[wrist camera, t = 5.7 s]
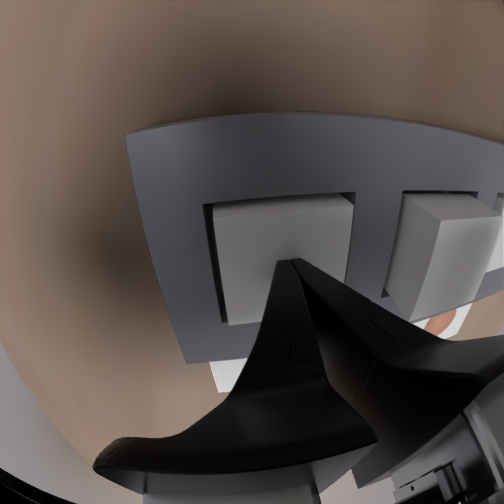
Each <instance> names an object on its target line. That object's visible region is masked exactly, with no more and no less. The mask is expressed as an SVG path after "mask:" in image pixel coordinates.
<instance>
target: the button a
mask: <svg viewBox="0 0 504 504" xmlns="http://www.w3.org/2000/svg"><path fill="white" fill-rule="evenodd" d="M353 208H354V205H353V204H351V203H350V202H349V201H348V200H347V199H345V198H344V197H343V196H342V195H341V194H339V193H338V192H336V193H318V194H303V195H289V196H276V197H265V198H254V199H243V200H233V201H224V202H215V203H213V223H214V230H215V238H216V245H217V252H218V259H219V266H220V273H221V279H222V286H223V292H224V299H225V305H226V311H227V317H228V323H229V325H238V324H247V323H255V322H261V321H262V317H263V313H264V309H265V306H266V302H267V298H268V294H269V290H270V286H271V282H272V278H273V274H274V270H275V266H276V262H277V261H278V260H286V259H288V260H290V259H295V258H302V259H304V260H306V261H307V262H309V263H311V264H312V265H314V266H316V267H317V268H319V269H321V270H322V271H324V272H326V273H327V274H329V275H331V276H332V277H334V278H336V279H337V280H339V281H341V282H342V283H344V278H345V272H346V265H347V258H348V251H349V244H350V236H351V227H352V218H353Z"/></svg>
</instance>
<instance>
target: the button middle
mask: <svg viewBox="0 0 504 504" xmlns="http://www.w3.org/2000/svg"><path fill="white" fill-rule="evenodd" d="M503 217H504V216H503V215H501V214H500V213H498V212H497V211H495V210H494V209H492V208H491V207H489V206H487V205H486V204H484V203H483V202H481V201H479V200H478V199H476V198H474V197H472V196H471V195H469V194H402V199H401V205H400V212H399V218H398V224H397V229H396V234H395V239H394V244H393V249H392V254H391V258H390V263H389V267H388V271H387V275H386V279H385V283H384V288H385V290H386V291H387V292H388V294H389V295H390V296H391V298H392V299H393V300H394V302H395V303H396V304H397V306H398V307H399V309H400V310H401V311H402V313H403V314H404V316H405V317H406V318H407V320H408V321H409V322H410V321H414V320H417V319H420V318H423V317H426V316H430V315H433V314H436V313H439V312H442V311H445V310H447V309H450V308H453V307H456V306H459V305H461V304H464V303H467V302H469V301H472V300H474V298H475V296H476V293H477V291H478V289H479V286H480V284H481V282H482V279H483V277H484V274H485V272H486V269H487V267H488V264H489V261H490V259H491V256H492V253H493V250H494V247H495V244H496V241H497V238H498V234H499V231H500V228H501V224H502V220H503Z"/></svg>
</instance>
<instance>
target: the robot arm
mask: <svg viewBox="0 0 504 504" xmlns="http://www.w3.org/2000/svg"><path fill="white" fill-rule="evenodd" d="M371 302H372V301H371V300H370V299H368V298H367V297H365V296H363V295H362V294H360V293H359V292H357V291H355V290H354V289H352V288H350V287H349V286H347V285H345V284H344V283H342V282H341V281H339V280H337V279H336V278H334V277H332V276H331V275H329V274H327V273H326V272H324V271H322V270H321V269H319V268H317V267H316V266H314V265H312V264H311V263H309V262H307V261H306V260H304V259H302V258H295V259H290V260H288V259H286V260H278V261H277V262H276V266H275V270H274V274H273V278H272V282H271V286H270V290H269V294H268V298H267V302H266V306H265V309H264V313H263V317H262V321H261V324H260V328H259V331H258V334H257V337H256V341H255V343H254V345H253V348H252V350H251V352H250V355H249V357H248V359H247V361H246V363H245V365H244V367H243V369H242V371H241V373H240V375H239V377H238V379H237V381H236V383H235V385H234V386H233V388H232V390H231V392H230V393H229V395H228V396H227V397H226V399H225V400H224V401H223V402H222V403H221V404H219V405H218V406H217V407H216V408H214V409H213V410H212V411H210V412H209V413H208V414H206V415H205V416H204V417H202V418H201V419H200V420H198V421H197V422H196V423H194V424H193V425H192V426H190V427H189V428H188V429H186V430H184V431H183V432H181V433H179V434H176V435H173V436H169V437H164V438H142V437H122V438H119V439H116V440H114V441H113V442H112V443H111V444H109V445H108V446H107V447H106V448H105V449H104V450H103V451H102V452H101V453H100V454H99V455H98V457H97V458H96V460H95V462H94V464H93V466H92V468H93V470H94V471H95V472H96V473H97V474H99V475H100V476H103V477H104V478H106V479H108V480H110V481H112V482H114V483H117V484H118V485H121V486H123V487H125V488H127V489H130V490H132V491H134V492H137V493H139V494H141V495H143V504H321V500H320V496H319V494H320V493H321V492H323V491H324V490H325V489H326V488H328V487H329V486H330V485H331V484H333V483H334V482H335V481H337V480H338V479H339V478H340V477H341V476H343V475H344V474H345V473H346V472H347V471H349V470H350V469H352V473H353V475H354V478H355V481H356V484H357V487H358V488H362V487H365V486H367V485H370V484H373V483H375V482H378V481H381V480H383V479H385V478H388V477H390V476H391V478H392V481H393V484H394V487H395V491H394V492H393V494H394V497H395V500H396V503H395V504H458V503H459V502H461V504H504V335H499V336H492V337H486V338H479V339H471V340H463V341H450V340H446V339H442V338H440V337H438V336H436V335H434V334H432V333H430V332H428V331H426V330H424V329H422V328H420V327H418V326H416V325H414V324H412V323H410V322H408V321H406V320H404V319H402V318H401V317H399V316H397V315H395V314H393V313H391V312H390V311H388V310H386V309H385V308H383V307H381V306H380V305H378V304H376V303H375V302H372V303H371ZM0 504H76V503H73V502H70V501H67V500H64V499H62V498H59V497H57V496H54V495H52V494H49V493H47V492H44V491H42V490H40V489H38V488H36V487H34V486H32V485H30V484H28V483H26V482H24V481H22V480H20V479H18V478H16V477H14V476H13V475H11V474H10V473H8V472H6V471H4V470H3V469H1V468H0Z"/></svg>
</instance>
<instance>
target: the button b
mask: <svg viewBox="0 0 504 504" xmlns="http://www.w3.org/2000/svg"><path fill="white" fill-rule="evenodd" d="M494 210H495V211H497V212H498V213H500V214H501V215H503V216H504V193H499V192H498V194H497V199H496V203H495V208H494ZM501 267H504V217H503V220H502V224H501V228H500V231H499V234H498V238H497V241H496V244H495V247H494V250H493V253H492V256H491V259H490V261H489V264H488V267H487V269H486V272H489V271H492V270H495V269H498V268H501ZM486 272H485V273H486Z"/></svg>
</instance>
